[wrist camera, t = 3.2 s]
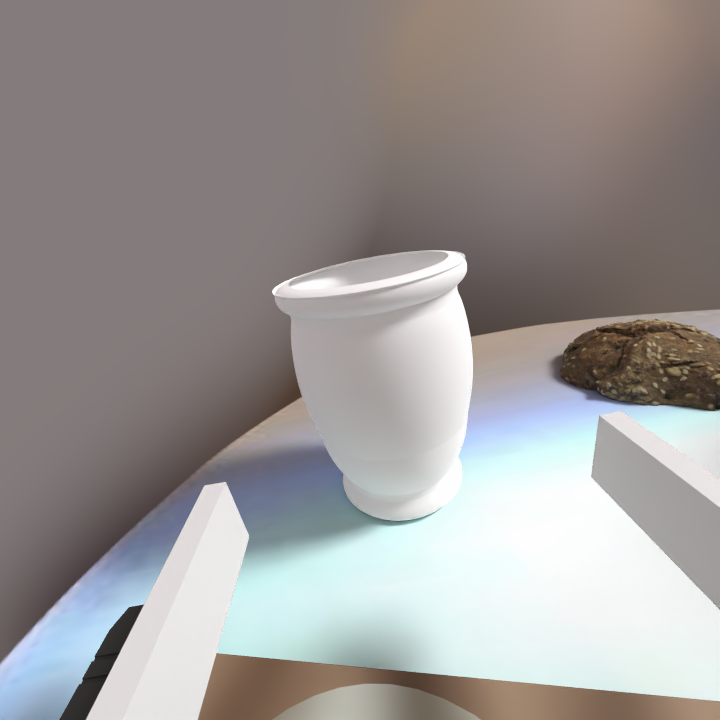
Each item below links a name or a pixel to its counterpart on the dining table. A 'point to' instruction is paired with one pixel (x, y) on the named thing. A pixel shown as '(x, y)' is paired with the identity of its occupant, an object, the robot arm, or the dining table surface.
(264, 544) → the dining table surface
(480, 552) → the dining table surface
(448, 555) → the dining table surface
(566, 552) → the dining table surface
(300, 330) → the jar
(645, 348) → the bread roll
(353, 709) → the board
